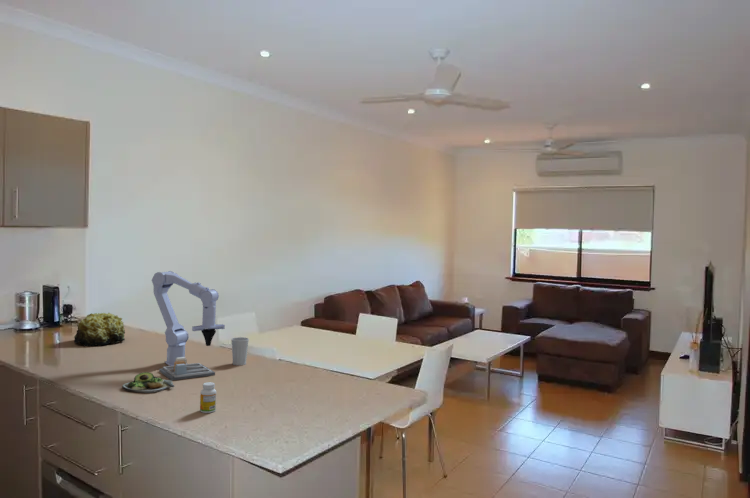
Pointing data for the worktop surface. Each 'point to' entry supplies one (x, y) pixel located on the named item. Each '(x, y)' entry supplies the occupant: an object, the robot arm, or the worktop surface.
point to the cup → (239, 350)
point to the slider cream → (181, 359)
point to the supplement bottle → (208, 398)
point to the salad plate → (147, 383)
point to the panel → (192, 372)
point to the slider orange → (178, 363)
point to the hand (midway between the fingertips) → (208, 345)
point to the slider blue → (180, 369)
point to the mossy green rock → (100, 329)
